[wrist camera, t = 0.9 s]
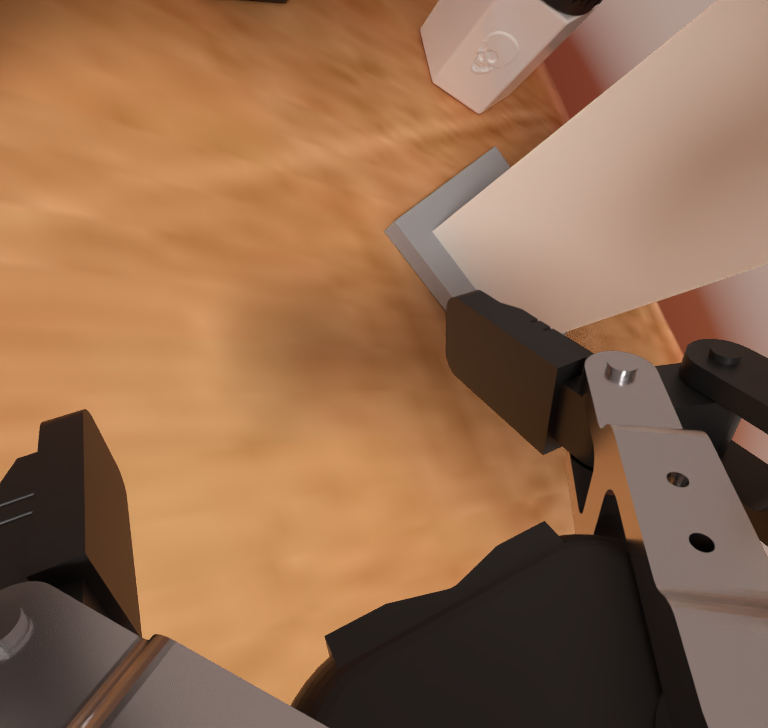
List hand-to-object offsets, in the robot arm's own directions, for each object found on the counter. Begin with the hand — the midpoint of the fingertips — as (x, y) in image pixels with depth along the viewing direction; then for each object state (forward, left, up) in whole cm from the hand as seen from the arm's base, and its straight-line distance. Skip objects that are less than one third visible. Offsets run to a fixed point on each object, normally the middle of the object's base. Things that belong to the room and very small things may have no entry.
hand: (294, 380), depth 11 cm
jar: (-15, +32, -17) cm, 39 cm away
